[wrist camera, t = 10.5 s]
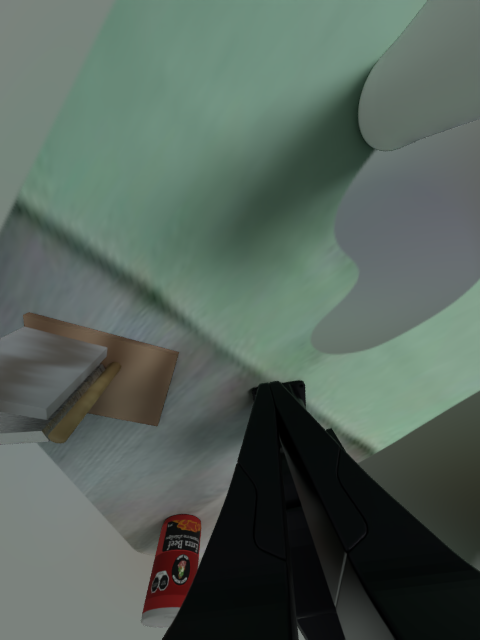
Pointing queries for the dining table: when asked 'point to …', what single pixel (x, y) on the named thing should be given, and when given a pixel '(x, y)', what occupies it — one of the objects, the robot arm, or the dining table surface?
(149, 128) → the dining table surface
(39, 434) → the swinging leaf
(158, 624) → the canned food
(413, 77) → the white tapered cylinder
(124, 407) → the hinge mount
